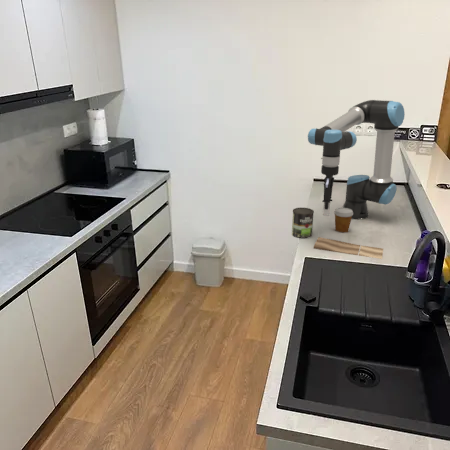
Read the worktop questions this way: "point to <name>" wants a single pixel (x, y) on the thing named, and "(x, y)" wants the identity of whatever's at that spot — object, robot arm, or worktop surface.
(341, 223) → the disposable coffee cup
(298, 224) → the coffee can
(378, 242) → the worktop surface
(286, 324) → the worktop surface
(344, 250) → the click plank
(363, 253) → the laid plank
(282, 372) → the worktop surface
